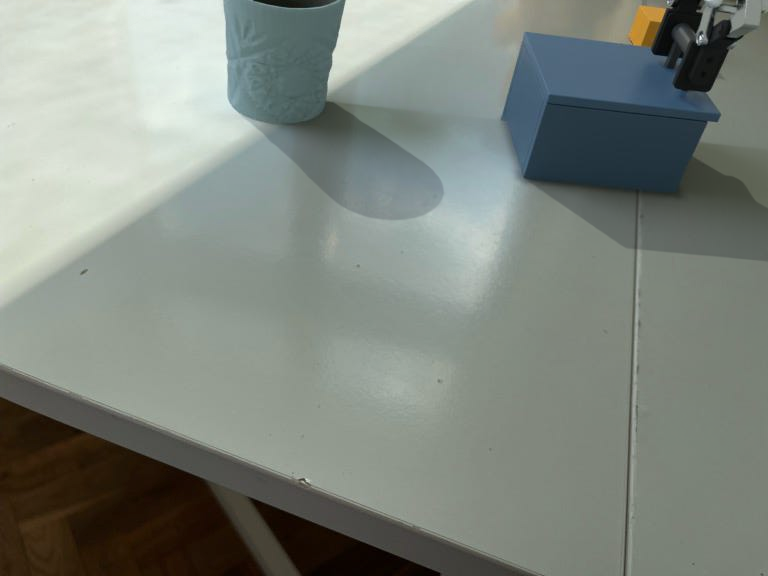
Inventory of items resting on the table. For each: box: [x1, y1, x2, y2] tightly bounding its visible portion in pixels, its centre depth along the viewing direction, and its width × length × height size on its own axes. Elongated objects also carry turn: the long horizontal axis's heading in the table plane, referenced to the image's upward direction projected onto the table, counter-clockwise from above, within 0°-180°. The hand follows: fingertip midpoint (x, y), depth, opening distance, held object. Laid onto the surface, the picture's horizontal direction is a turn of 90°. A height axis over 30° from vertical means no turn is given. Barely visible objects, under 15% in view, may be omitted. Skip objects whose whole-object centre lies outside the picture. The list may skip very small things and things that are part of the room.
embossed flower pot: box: [222, 0, 347, 125], centre depth 67 cm, size 10×10×12 cm
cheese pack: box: [628, 5, 666, 47], centre depth 94 cm, size 6×4×4 cm
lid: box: [522, 23, 722, 123], centre depth 65 cm, size 14×12×5 cm
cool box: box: [500, 40, 709, 194], centre depth 70 cm, size 14×12×8 cm
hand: (679, 69), depth 67 cm, fingers open, 5 cm apart
